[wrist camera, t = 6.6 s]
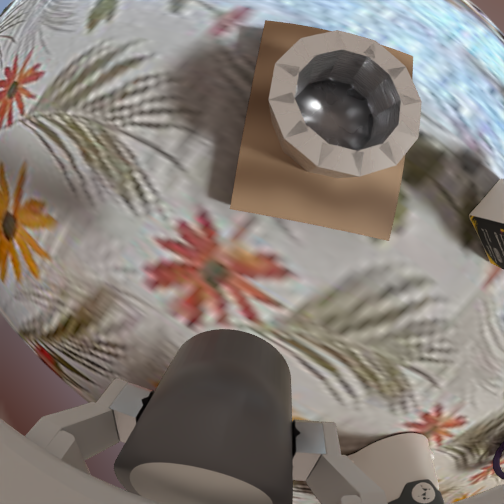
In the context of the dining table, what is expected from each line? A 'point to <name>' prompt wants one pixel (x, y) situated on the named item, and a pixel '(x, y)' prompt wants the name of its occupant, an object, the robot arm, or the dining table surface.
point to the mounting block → (297, 178)
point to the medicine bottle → (491, 223)
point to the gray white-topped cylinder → (215, 426)
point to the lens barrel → (343, 105)
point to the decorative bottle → (498, 461)
